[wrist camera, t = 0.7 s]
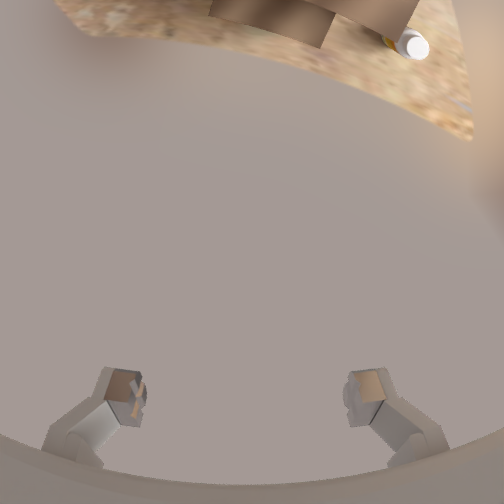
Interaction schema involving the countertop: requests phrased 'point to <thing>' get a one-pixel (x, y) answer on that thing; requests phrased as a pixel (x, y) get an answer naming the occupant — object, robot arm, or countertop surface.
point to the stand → (316, 16)
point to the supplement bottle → (409, 44)
